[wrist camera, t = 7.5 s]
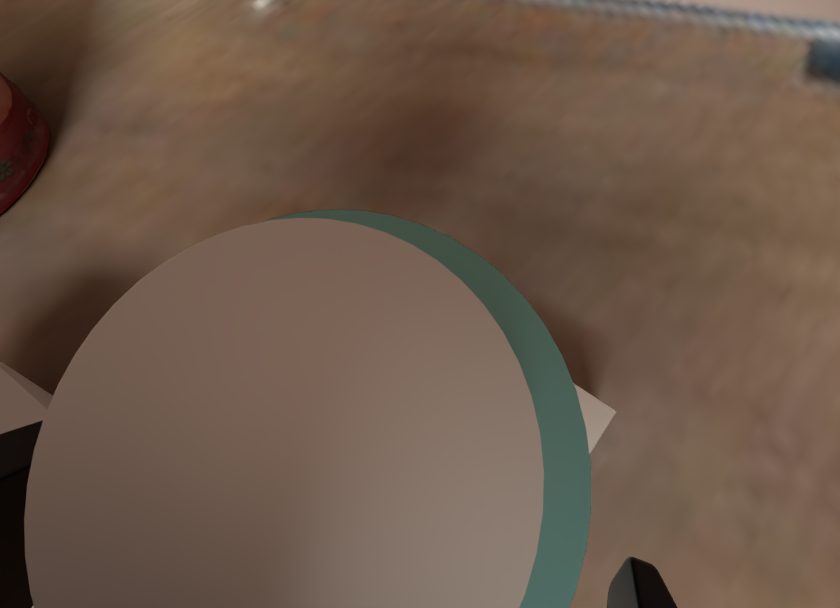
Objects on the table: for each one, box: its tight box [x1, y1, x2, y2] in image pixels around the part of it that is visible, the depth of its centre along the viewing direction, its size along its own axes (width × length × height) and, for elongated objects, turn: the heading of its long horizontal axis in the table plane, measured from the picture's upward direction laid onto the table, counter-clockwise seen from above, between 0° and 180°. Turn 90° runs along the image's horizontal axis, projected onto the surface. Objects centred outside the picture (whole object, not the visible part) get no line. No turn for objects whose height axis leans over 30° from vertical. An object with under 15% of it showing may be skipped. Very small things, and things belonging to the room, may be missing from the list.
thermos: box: [24, 209, 591, 608], centre depth 10 cm, size 5×5×13 cm
